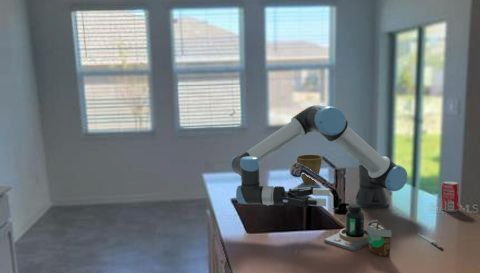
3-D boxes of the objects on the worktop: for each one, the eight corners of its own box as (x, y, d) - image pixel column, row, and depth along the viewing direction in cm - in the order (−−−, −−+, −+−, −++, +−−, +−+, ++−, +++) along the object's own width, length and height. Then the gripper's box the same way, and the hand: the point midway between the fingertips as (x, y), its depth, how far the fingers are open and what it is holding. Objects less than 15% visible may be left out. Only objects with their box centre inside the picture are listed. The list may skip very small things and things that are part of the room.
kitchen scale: (324, 241, 161) (324, 236, 161) (349, 229, 172) (349, 224, 172) (354, 251, 152) (354, 245, 151) (378, 237, 163) (378, 232, 163)
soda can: (460, 212, 188) (461, 184, 187) (443, 212, 190) (444, 184, 188) (456, 207, 195) (457, 180, 193) (439, 207, 197) (440, 180, 195)
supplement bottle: (354, 240, 159) (354, 209, 157) (342, 234, 165) (341, 205, 163) (367, 236, 162) (367, 206, 160) (355, 231, 168) (355, 202, 166)
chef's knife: (421, 232, 168) (414, 232, 168) (421, 230, 168) (414, 230, 168) (449, 251, 149) (441, 251, 149) (449, 248, 149) (441, 248, 149)
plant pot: (297, 180, 259) (296, 154, 257) (321, 180, 257) (321, 154, 255) (296, 186, 245) (296, 159, 242) (323, 186, 242) (322, 159, 240)
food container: (360, 246, 156) (360, 220, 154) (376, 245, 156) (377, 219, 155) (373, 260, 143) (374, 232, 142) (391, 259, 144) (391, 230, 143)
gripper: (280, 195, 183) (330, 197, 177) (267, 214, 159) (324, 217, 153) (280, 179, 182) (330, 180, 176) (266, 195, 158) (324, 197, 152)
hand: (327, 197), depth 164 cm, fingers open, 13 cm apart
